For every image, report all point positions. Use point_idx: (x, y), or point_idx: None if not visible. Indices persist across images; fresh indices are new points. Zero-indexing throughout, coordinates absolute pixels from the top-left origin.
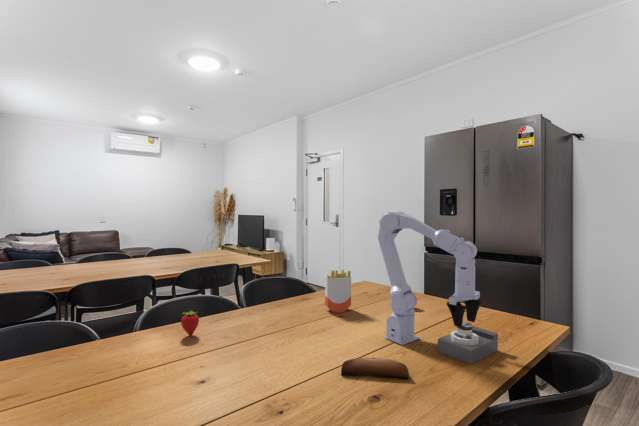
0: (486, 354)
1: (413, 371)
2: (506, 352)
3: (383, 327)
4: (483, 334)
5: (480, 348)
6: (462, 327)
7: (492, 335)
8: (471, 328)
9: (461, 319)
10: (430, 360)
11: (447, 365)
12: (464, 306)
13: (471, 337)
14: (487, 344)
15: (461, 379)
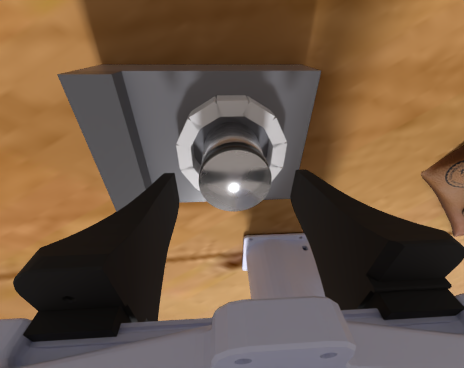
0: (191, 65)
1: (441, 143)
2: (77, 28)
3: (249, 290)
4: (129, 123)
5: (241, 69)
6: (270, 171)
7: (112, 78)
8: (234, 145)
9: (335, 188)
10: (350, 155)
11: (355, 110)
12: (430, 249)
13: (229, 128)
14: (178, 70)
15: (439, 19)
